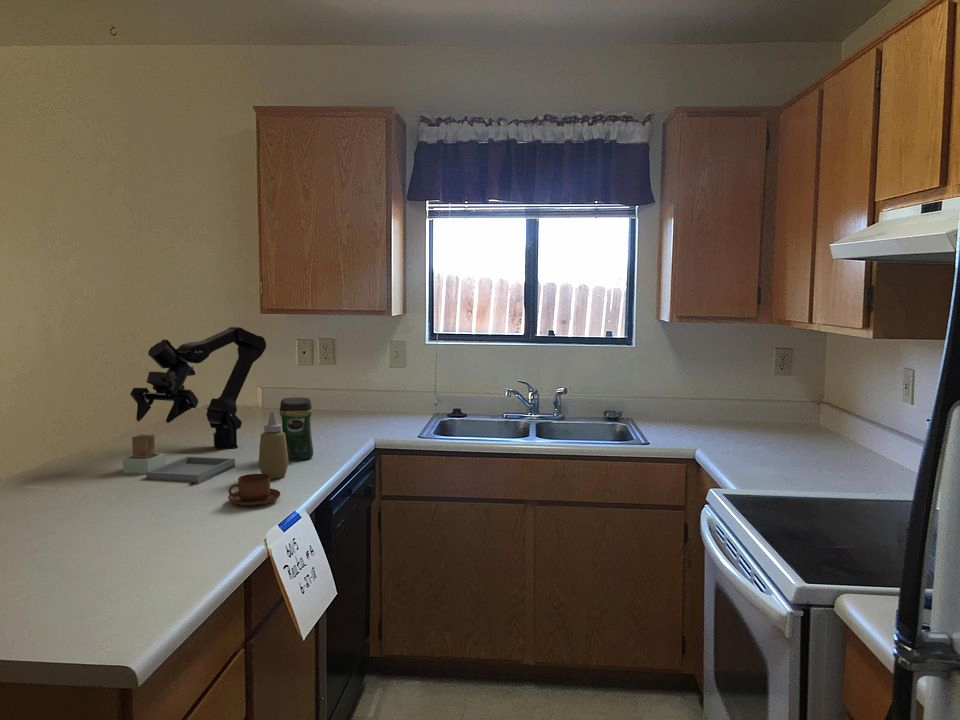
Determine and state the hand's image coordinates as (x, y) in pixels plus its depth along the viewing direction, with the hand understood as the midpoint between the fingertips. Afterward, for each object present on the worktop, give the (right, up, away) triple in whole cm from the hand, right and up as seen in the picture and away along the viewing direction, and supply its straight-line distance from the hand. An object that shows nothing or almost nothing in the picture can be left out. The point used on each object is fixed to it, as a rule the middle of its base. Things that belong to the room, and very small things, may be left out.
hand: (152, 421), depth 204 cm
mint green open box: (-1, -14, -3) cm, 14 cm away
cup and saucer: (+38, -17, -30) cm, 52 cm away
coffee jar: (+37, -13, +15) cm, 42 cm away
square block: (-1, -13, -3) cm, 14 cm away
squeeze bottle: (+36, -15, -7) cm, 40 cm away
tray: (+13, -14, -4) cm, 20 cm away
